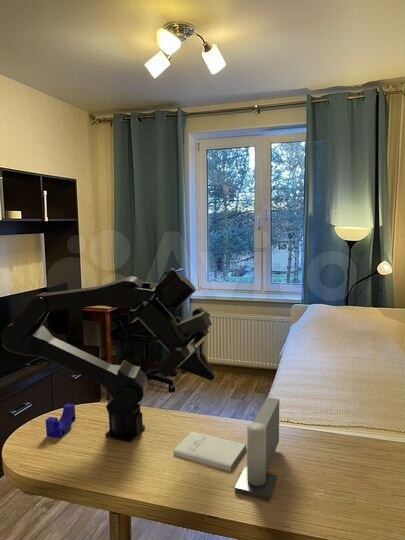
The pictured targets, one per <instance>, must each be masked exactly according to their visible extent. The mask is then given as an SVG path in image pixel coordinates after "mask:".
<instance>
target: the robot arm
mask: <svg viewBox="0 0 405 540" xmlns="http://www.w3.org/2000/svg"><path fill="white" fill-rule="evenodd" d="M196 291H197V289H196V287H195V285H194V284H193V283H192V281H190V280H189V278H187V276H185V275H182V274H181V273H180V271H179V272H178V271H177V270H176V269H175V268H173V267H172V268H171V269H170V270H169V271H168V272H167V274H166V275H165V276H164V277H163V278H162V279H161V280H160V281H159V283H154V282H147V281H142V280H141V279H140V278H139V277H137V276H133V275H130V276H126V277H121V278H119V279H117V280H114V281H111V282H108V283H106V284H103V285H99V286H92V287H91V286H90V287H84V288H77V289H69V290H67V289H66V290H60V291H59V290H58V291H53V292H47V291H44V292H41V293H39V294H37V295H35V296H34V297H32V298H31V300H30V302H29V303H28V305H27V306H26V307H25V308H24V309H23V310H22V312H20V314H18V316H17V318H16V319H15V320H14V321H13V322H12V323H11V324H8V325H7V326H6V327H4V328H3V330H2V331H1V333H0V342H1V344H2V347H3V348H4V349H5V350H7V351H8V352H10V353H11V352H12V353H14V354H18V355H23V356H32V357H33V356H34V357H41V358H43V359H45V360H48V361H50V362H52V363H54V364H56V365H58V366H60V367H63V368H65V369H67V370H69V371H71V372H73V373H75V374H77V375H80V376H81V377H83V378H86V379H87V380H90V381H91V382H94V383H97V384H99V385H100V386H102V387H103V389H104V390H105V391H106V392H107V394H108V395H110V398H109V400H108V402H107V404H106V405H105V408H106V411H107V413H108V426H109V427H108V428H109V430H107V432H105V433H104V435H105V437H107V438H111V439H115V440H120V441H122V442H123V441H124V442H129V443H130V442H132V441H133V440H134V439H135V438H136V437H137V436H138V435H139V434H140V433H141V432H142V431H143V430H144V429H145V428H146V425H145V424H143V411H141V403H140V402H141V401H142V400H143V397H144V394H145V392H146V389H147V385H148V377H147V374H146V373H145V372H144V371H143V370H141V368H142V367H141V366H140V365H139V366H138V365H134V364H133V363H131V362H129V361H128V360H125V359H124V360H122V362H121V364H119V365H118V364H111V363H109V362H107V361H106V360H103V359H100V358H98V357H97V356H94V355H93V354H91V353H88V352H86V351H84V350H81V349H79V348H78V347H75V346H74V345H71V344H69V343H67V342H65V341H63V340H60V339H59V338H56V337H55V336H53V335H52V334H51V333H50V331H49V330H48V328H46V326H44V325H43V324H44V322H45V320H46V319H47V317H48V315H49V314H50V313H55V312H61V311H68V310H69V311H70V310H75V309H84V308H91V307H108V308H115V309H129V310H127V314H128V317H127V318H128V319H127V323H128V324H129V325H130V324H132V323H135V322H136V321H138V320H139V321H140V322H141V324H143V325H144V326H145V328H146V329H147V330H148V331H149V332H150V333H151V334H152V335H153V337H154V338H153V339H152V341H153V342H154V343H155V344H156V343H158V342H159V343H160V344H161V345H162V346H163V347H164V348H165V350H167V351H168V352H166V356H165V357H164V358H163V360H161V361H160V362H159V363H158V364H157V370H158V372H159V374H160V375H161V376H162V377H163V378H164V379H166V378H168V377H169V376H170V375H171V373H173V371H174V370H177V371H179V370H181V371H184V372H186V373H191V374H193V375H195V376H199V377H201V378H203V379H205V380H208V381H210V382H211V381H214V379H215V378H216V374H215V373H214V371H213V368H212V367H211V364H210V362H208V361H209V360H208V359H207V357H206V355H205V353H204V351H205V350H204V347H205V340H203V338H204V337H206V336H207V335H208V334H209V333H210V331H209V329H210V326H212V325H213V324H212V322H211V319H210V316H211V314H210V313H209V312H208V311H207V310H206V309H205V310H204V309H203V308H202V307H197V308H195V309H194V310H192V312H191V313H192V315H191V316H189V317H188V318H186V319H183V318H182V317H181V316H178V315H177V316H176V317H174V315H173V314H172V313H171V312H170V311H169V310H170V309H171V310H173V308H174V309H175V310H178V309H179V308H180V307H181V306H182V305H183V304H184V303H185V302H186V301H187V300H189V298H190V297H191V296H192V295H193V294H194V293H195V292H196ZM148 300H149V301H148ZM140 302H141V303H140ZM138 303H140V304H139V305H138ZM137 305H138V306H137ZM136 306H137V307H136ZM134 307H136V308H135V309H131V308H134ZM168 309H169V310H168ZM201 340H203V341H202V342H201V343H199V342H200V341H201ZM139 403H140V404H139Z"/></svg>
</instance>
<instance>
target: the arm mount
mask: <svg viewBox="0 0 405 540" xmlns="http://www.w3.org/2000/svg"><path fill="white" fill-rule="evenodd" d="M277 480H278V474H276V473H271V472H268V471H267V472H266V482H265V483H264V484H263V485H261V486H254V485H251V484H250V483H249V482H248V480H247V466H246V467H245V466H244V468H243V470H242V473H241V474H240V476H239V478H238V480H237V483H236V485H235V487H234V493H235V494H239V495H242V496H247V497H251V498H254V499H257V500H262V501H266V502H270V501H271V498H272V495H273V492H274V489H275V487H276V484H277Z"/></svg>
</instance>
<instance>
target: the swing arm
mask: <svg viewBox="0 0 405 540" xmlns="http://www.w3.org/2000/svg"><path fill="white" fill-rule="evenodd" d="M246 431H247V433H246V436H247V438H246V451H247V456H246V460H247V461H246V464H247V465H246V468H247V480H248V482H249V483H250V484H251V485H254V486H261V485H263V484H264V483H265V482H266V472H268V469H269V467H270V465H271V462H272V460H273V457H274V454H275V452H276V449H277V447H278V444H279V442H280V399H279V398H273V397H266V399H265V400H264V401H263V404H262V406H261V407H260V409H259V411H258V413H257V415H256V417H255V418H254V420H253V422H251V423H249V424H248V425H247V426H246Z"/></svg>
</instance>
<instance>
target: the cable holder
mask: <svg viewBox="0 0 405 540" xmlns="http://www.w3.org/2000/svg"><path fill="white" fill-rule="evenodd" d="M75 408H76V406H75V404H74V403H66V404H64V405H63V410H62V414H61V416H60V418H59V419H58V417H55V416H49V417H47V418H46V419H45V420H44V421H45V429H46V430H45V431H46V437H47V438H48V437H49V438H55V439H62V438H63V437H64V436H66V434H68V433H69V432H70V431H71V430H72V423H74V422H75V421H76V419H77V418H76V409H75Z"/></svg>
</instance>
